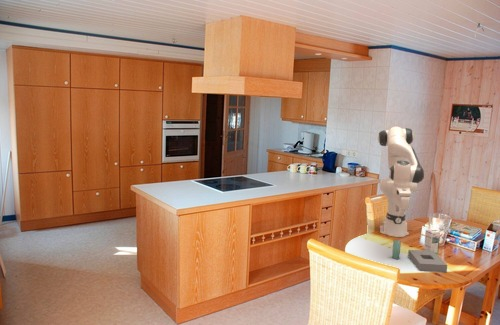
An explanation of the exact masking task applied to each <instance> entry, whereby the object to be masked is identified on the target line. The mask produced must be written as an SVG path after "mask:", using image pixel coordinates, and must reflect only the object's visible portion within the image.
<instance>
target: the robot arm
mask: <svg viewBox="0 0 500 325" xmlns="http://www.w3.org/2000/svg"><path fill="white" fill-rule="evenodd" d="M414 135H415V134H414V132H413V130H412V128H409V127H408V128H406V127H405V128H403V127H400V126H392V127H390V129H386V130H380V131H379V133H378V134H377V140H378V143H379V145H380V146H381V147H387V161H388V162H387V163H388V169H389V175H388V176H389V177H385V178H383V179H381V181H380V183H379V189H380V191H381V193H382V194H384V195H385V197H386V199H387V212H386V217H385V218H384V219H383V221H381V223H380V224H381V225H379V232H380V234H384V235H387V236H389V237H396V238H403V237H406V236H408V235H410V232H409V231H408V222H407V221H406V216H407V215H406V211H408V210H409V208H410V200H411V196H412V193H414V192H416V191H417V189H418V184H419V183H420V182H422V181H423V180H424V178H425V171H424V168H423V167H422V166H421V164H420V160H419V158H418V155H417V153H416V151H415V148H414V147H412V146H411V144H412V143H413V141H414V139H415V137H414ZM406 159H407V160H408V161H407V160H406Z"/></svg>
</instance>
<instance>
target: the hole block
mask: <svg viewBox="0 0 500 325" xmlns="http://www.w3.org/2000/svg"><path fill="white" fill-rule="evenodd" d="M408 256H409V257H408ZM407 257H408V258H409V260H410V261H411V260H412V261H413V262H412V261H411V262H412V263H413V264H415V265H416V266H415V265H414V266H415V267H416V268H417V270H418V269H419V270H420V271H421V272H435V273H447V272H448V264H447V262H445V261H444V260H443V259H442V258H441V257H440V256H439V254H438V255H437V254H436V253H435V252H434V251H425V250H424V249H423V250H421V249H408V252H407ZM419 270H418V271H419Z"/></svg>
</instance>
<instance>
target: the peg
mask: <svg viewBox="0 0 500 325" xmlns="http://www.w3.org/2000/svg"><path fill="white" fill-rule="evenodd" d="M391 253H392V254H391V258H392V259H393V260H400V257H401V240H397V239H396V240H393V242H392V252H391Z"/></svg>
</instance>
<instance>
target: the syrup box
mask: <svg viewBox="0 0 500 325" xmlns="http://www.w3.org/2000/svg"><path fill="white" fill-rule="evenodd" d="M440 238H441V231H440V230H438V229H435V228H430V229H425V233H424V245H423V247H424V249H423V250H425V251H434V252H435V253H436V254H437V255H438V256H439V252H440V250H439V249H440V240H441V239H440Z"/></svg>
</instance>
